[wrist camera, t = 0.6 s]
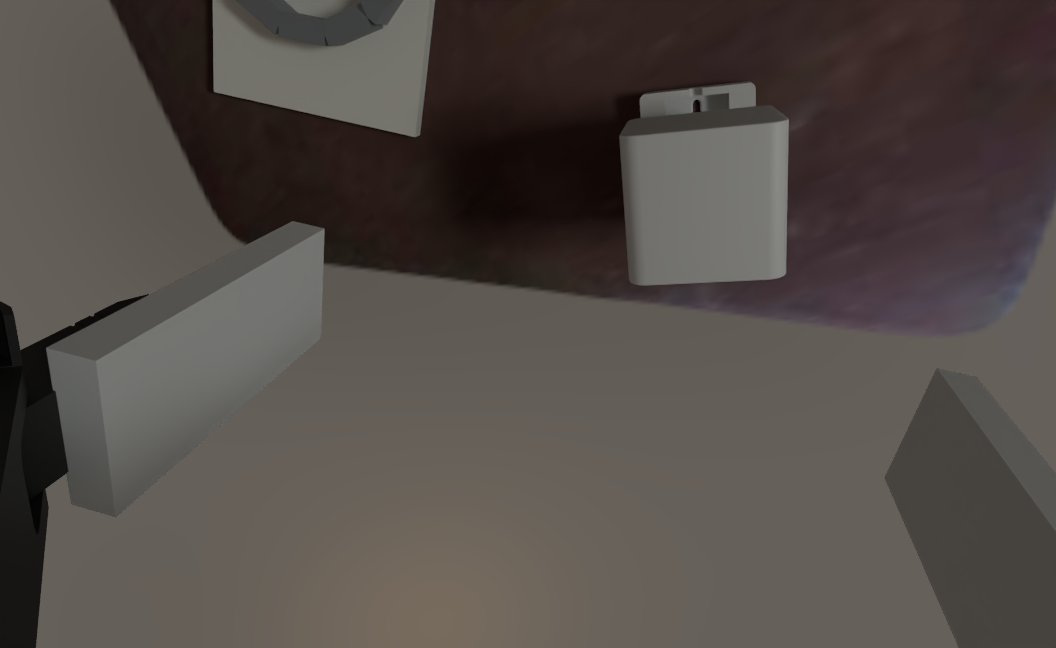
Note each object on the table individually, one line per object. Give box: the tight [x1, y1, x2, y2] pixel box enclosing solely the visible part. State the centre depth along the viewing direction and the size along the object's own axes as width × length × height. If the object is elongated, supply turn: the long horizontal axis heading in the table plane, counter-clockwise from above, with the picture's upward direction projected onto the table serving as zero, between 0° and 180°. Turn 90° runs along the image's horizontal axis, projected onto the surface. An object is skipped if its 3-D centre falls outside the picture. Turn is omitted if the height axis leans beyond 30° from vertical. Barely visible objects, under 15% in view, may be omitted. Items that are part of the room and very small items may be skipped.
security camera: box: [619, 81, 789, 285], centre depth 31 cm, size 6×7×10 cm
